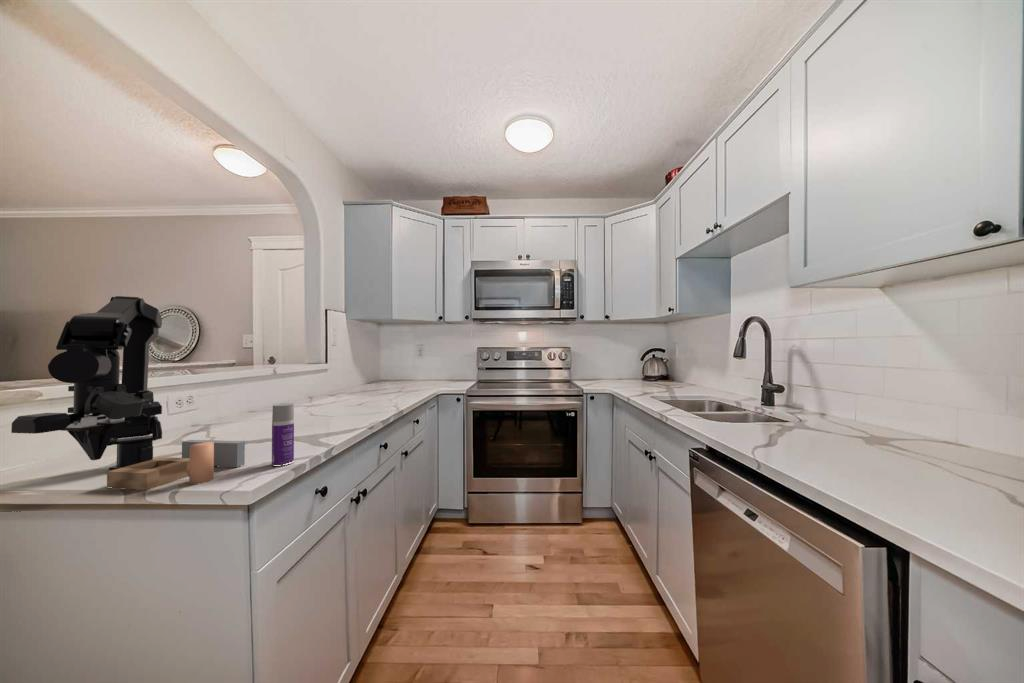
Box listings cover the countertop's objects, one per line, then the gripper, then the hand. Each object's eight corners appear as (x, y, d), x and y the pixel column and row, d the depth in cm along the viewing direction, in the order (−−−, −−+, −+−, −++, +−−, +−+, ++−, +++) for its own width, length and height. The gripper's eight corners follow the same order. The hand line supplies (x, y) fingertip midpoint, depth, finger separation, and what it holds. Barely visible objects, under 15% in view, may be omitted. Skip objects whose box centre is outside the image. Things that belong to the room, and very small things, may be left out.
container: (285, 466, 85) (286, 405, 86) (267, 467, 85) (267, 406, 86) (297, 460, 90) (298, 403, 90) (280, 461, 90) (280, 403, 90)
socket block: (106, 488, 73) (107, 471, 73) (161, 471, 83) (161, 457, 83) (146, 490, 71) (146, 473, 71) (197, 473, 81) (197, 458, 81)
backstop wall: (181, 465, 87) (181, 441, 87) (190, 463, 89) (190, 439, 89) (237, 467, 85) (237, 443, 85) (244, 465, 87) (244, 441, 87)
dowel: (184, 483, 75) (184, 446, 75) (203, 477, 79) (203, 441, 79) (200, 484, 74) (200, 447, 74) (218, 477, 78) (218, 442, 78)
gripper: (62, 384, 57) (60, 479, 57) (183, 376, 76) (182, 447, 76) (10, 384, 59) (7, 476, 59) (141, 376, 78) (140, 446, 77)
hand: (95, 459), depth 67 cm, fingers closed
